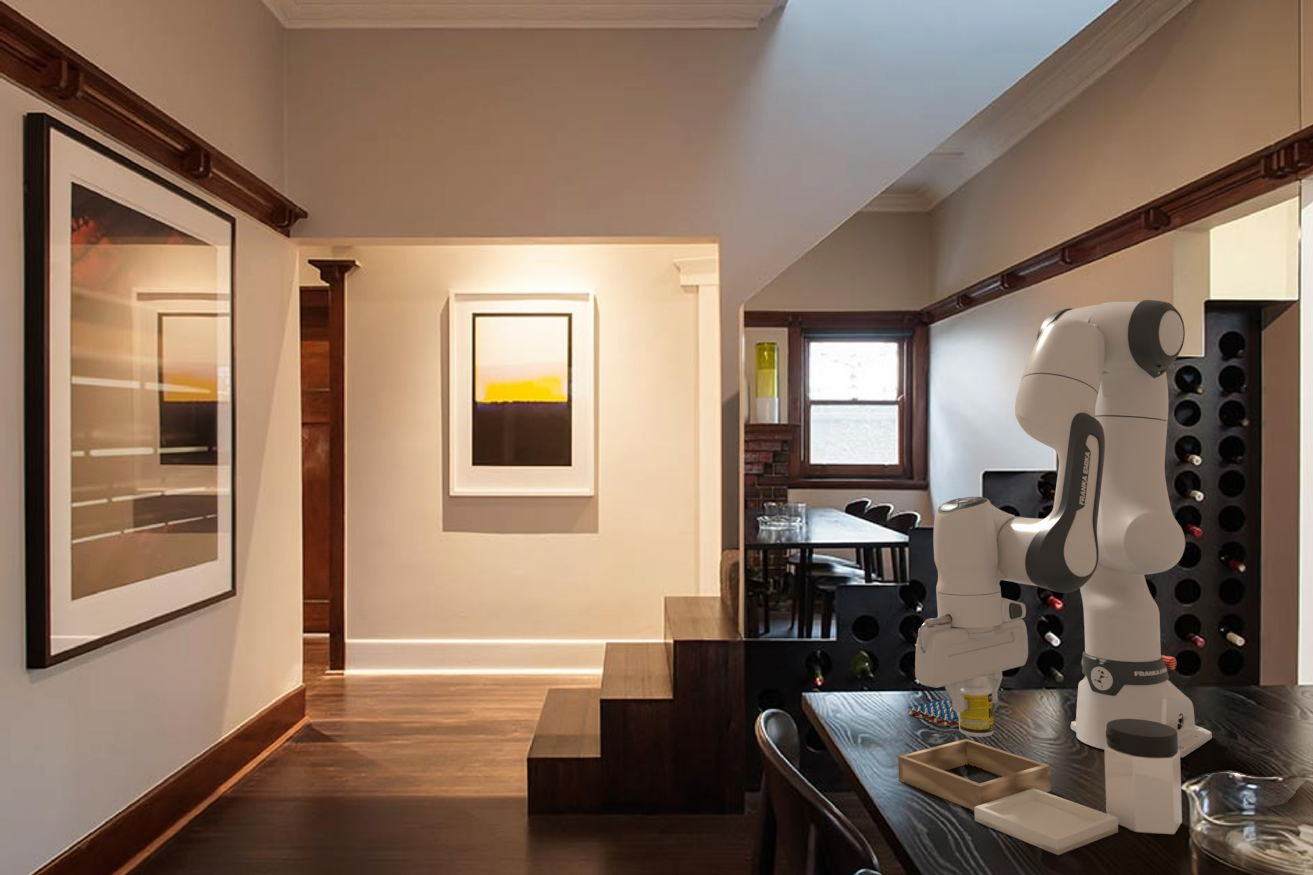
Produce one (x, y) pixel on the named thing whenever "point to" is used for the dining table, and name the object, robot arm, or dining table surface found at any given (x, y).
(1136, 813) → the jar
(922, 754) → the frame
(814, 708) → the dining table surface
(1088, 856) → the dining table surface
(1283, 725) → the dining table surface
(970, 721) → the supplement bottle
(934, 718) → the woven mat
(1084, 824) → the tray
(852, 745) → the dining table surface
